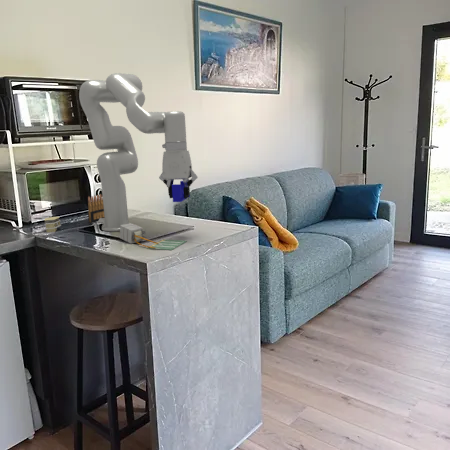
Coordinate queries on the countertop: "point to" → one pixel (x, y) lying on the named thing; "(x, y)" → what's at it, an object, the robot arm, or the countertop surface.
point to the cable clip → (178, 192)
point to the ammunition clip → (95, 208)
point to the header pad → (167, 244)
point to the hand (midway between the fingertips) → (179, 197)
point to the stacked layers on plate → (52, 224)
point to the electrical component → (133, 234)
